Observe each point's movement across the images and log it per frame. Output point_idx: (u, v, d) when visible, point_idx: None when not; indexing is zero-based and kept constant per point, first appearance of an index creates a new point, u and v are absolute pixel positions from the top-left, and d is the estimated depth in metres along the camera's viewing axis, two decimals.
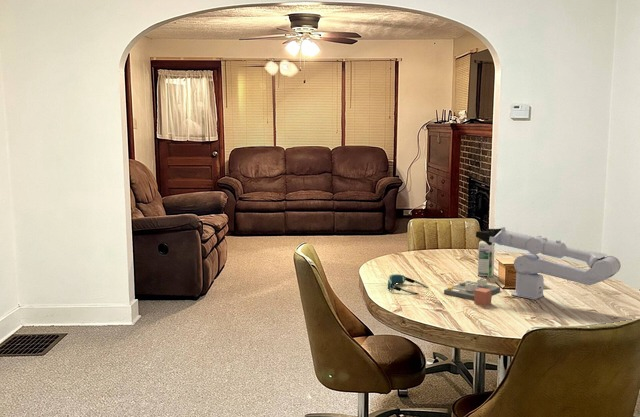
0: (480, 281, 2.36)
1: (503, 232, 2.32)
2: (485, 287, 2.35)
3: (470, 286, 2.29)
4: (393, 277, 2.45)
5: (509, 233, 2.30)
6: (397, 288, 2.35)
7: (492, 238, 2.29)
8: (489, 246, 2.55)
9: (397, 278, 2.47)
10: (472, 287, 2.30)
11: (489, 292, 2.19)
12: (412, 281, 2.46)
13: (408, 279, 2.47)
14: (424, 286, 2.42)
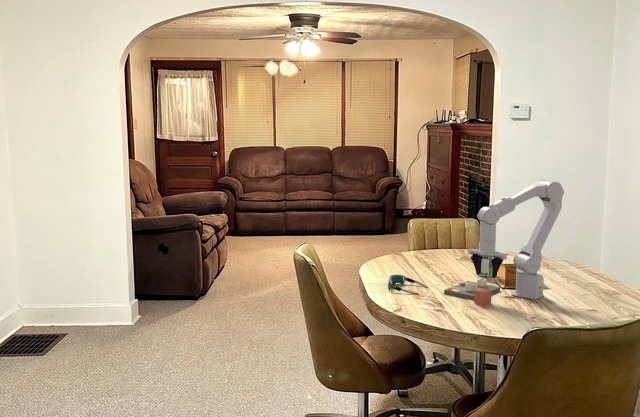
0: (480, 281, 2.36)
1: (488, 251, 2.22)
2: (485, 287, 2.35)
3: (470, 286, 2.29)
4: (393, 277, 2.45)
5: (487, 244, 2.21)
6: (397, 288, 2.34)
7: (504, 256, 2.19)
8: None
9: (398, 279, 2.46)
10: (472, 287, 2.30)
11: (489, 292, 2.19)
12: (412, 281, 2.46)
13: (408, 279, 2.47)
14: (424, 286, 2.42)
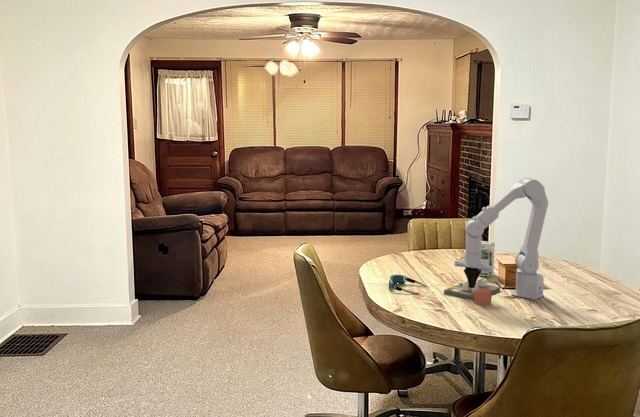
0: (480, 281, 2.36)
1: (473, 263, 2.26)
2: (485, 287, 2.35)
3: (467, 285, 2.30)
4: (394, 277, 2.45)
5: (473, 257, 2.26)
6: (398, 288, 2.34)
7: (489, 268, 2.24)
8: (489, 246, 2.55)
9: (398, 279, 2.46)
10: None
11: (489, 292, 2.19)
12: (413, 281, 2.46)
13: (409, 279, 2.46)
14: (425, 286, 2.42)
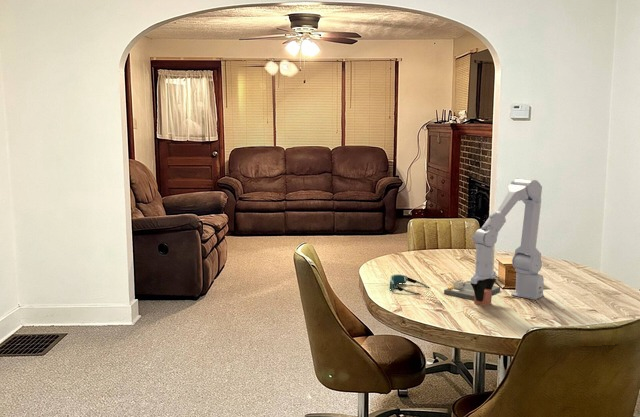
0: None
1: (491, 272, 2.18)
2: None
3: (458, 284, 2.33)
4: (395, 277, 2.44)
5: (491, 266, 2.18)
6: (399, 288, 2.34)
7: None
8: None
9: (399, 279, 2.46)
10: (460, 285, 2.33)
11: (489, 292, 2.19)
12: (414, 281, 2.46)
13: (410, 279, 2.46)
14: (426, 286, 2.42)
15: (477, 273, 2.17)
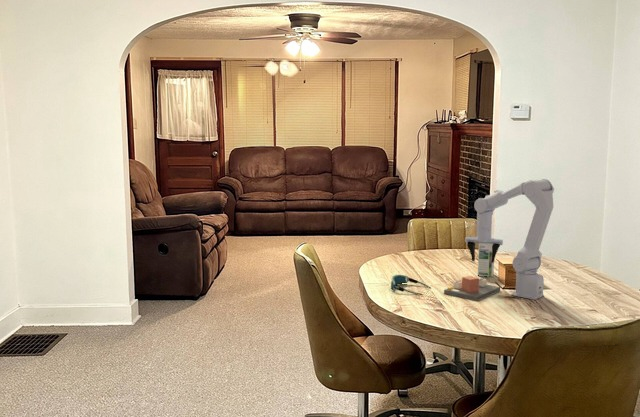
0: (480, 281, 2.36)
1: (486, 238, 2.41)
2: (485, 287, 2.35)
3: (458, 284, 2.33)
4: (396, 278, 2.44)
5: (486, 232, 2.41)
6: (400, 289, 2.34)
7: (502, 242, 2.40)
8: (489, 246, 2.55)
9: (400, 279, 2.46)
10: (460, 285, 2.33)
11: (475, 280, 2.29)
12: (415, 281, 2.45)
13: (411, 279, 2.46)
14: (427, 286, 2.42)
15: None
